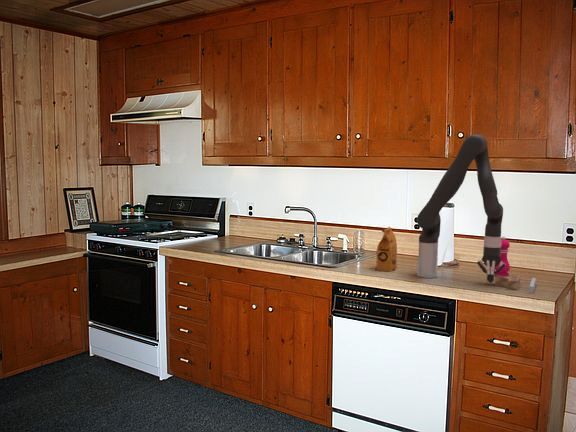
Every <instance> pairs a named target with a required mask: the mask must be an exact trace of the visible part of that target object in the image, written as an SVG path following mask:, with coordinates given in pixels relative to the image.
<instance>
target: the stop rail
mask: <svg viewBox="0 0 576 432" xmlns="http://www.w3.org/2000/svg"><path fill="white" fill-rule="evenodd" d="M536 282H537V278H536V277H532V278H531V281H530V284H529V290H528V291H529V292H528V293H529V294H534V291H535V287H536V284H537V283H536Z"/></svg>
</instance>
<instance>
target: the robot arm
mask: <svg viewBox="0 0 576 432" xmlns="http://www.w3.org/2000/svg"><path fill="white" fill-rule="evenodd" d="M474 161H475V166H476V173H477V174H476V175H477V183H478V188H479V191H480V194H481V197H482V203H483V209H484V210H483V211H484V213H485V215H486V217H487V218H486V224H485V228H484V238H483V253H482V258H481V259H479V260H478V261H477V262H476V264H477V265H478V266H479V268H480V270H481V271H482V272H483V274H486V281H487V282H488V283H489V284H490V283H491V284H492V283H493V282H494V281H495V274H498V273H499V272H500V271H501V270H502V269H503V268H504V267H505V265H506V264H505V263H503V262H502V261H501V258H500V255H501V240H502V223H503V217H504V207H503V205H502V204H501V203H500V202H499V198H498V190H497V185H496V182H495V179H494V175H493V172H492V168H491V167H492V166H491V162H490V157H489V148H488V140H487V139H486V137H485V136H484V135H481V134H475V133H474V134H470V135H468V136H466V138H465V139H464V140H463V142H462V144H461V147H459V150H458V153H457V155H456V157H455V158H454V159H453V161H452V162H451V164H450V165H449V167H448V168H447V170H446V172H445V173H444V175H443V176H442V178H441V179H440V181H439V183H438V185H437V186H436V188H435V190H434V191H433V192H432V195H431V197H430V199H428V201H427V203H426V204H425V206H424V207H423V208H422V210H420V212H419V213H418V214H417V217H416V223H417V225H418V227H419V228H420V229H421V233H420V234H419V236H418V256H417V258H416V261H417V262H416V276H417V277H421V278H425V279H426V278H430V279H431V278H432V279H433V278H434V279H435V278H437V277H438V259H439V257H438V254H439V253H438V252H439V251H438V250H439V237H440V234H441V215H440V212H441V210H442V209H443V208H444V207H445V205H446V204H448V203H449V201H451V199H453V197H455V195H456V194H457V192H458V191H459V190H460V188H461V187H462V185H463V183H464V181H465V179H466V175H467V172H468V170H469V167H470V165H471V164H472V162H474ZM499 263H500V267H499V268H498V269H497V270H495V267H497V266H498V264H499ZM484 265H485V266H484Z"/></svg>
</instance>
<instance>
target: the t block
mask: <svg viewBox="0 0 576 432" xmlns="http://www.w3.org/2000/svg"><path fill="white" fill-rule="evenodd" d="M520 285H521V275H516V274H515V275H514V274H513V275H512V274H511V275H510V276H509V277H506V276H494V286H495V287H502V288H503V287H504V288H507V290H511V291H518V289H519V287H520Z"/></svg>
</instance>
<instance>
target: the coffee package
mask: <svg viewBox="0 0 576 432" xmlns="http://www.w3.org/2000/svg"><path fill="white" fill-rule="evenodd" d="M381 232H382V233H384V234H382V238H381V240H380V241H379V242H378V244H377V248H376V267H375V268H376V270H377V271H378V272H379V271H380V272H386V273H389V272H392V271H396V269H397V265H398V264H397V259H398V258H397V255H398V247H397V237H396V235H395V233H394V231H393V230H392V228H391V227H390V226H387V228H383V229H382V230H381Z"/></svg>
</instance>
